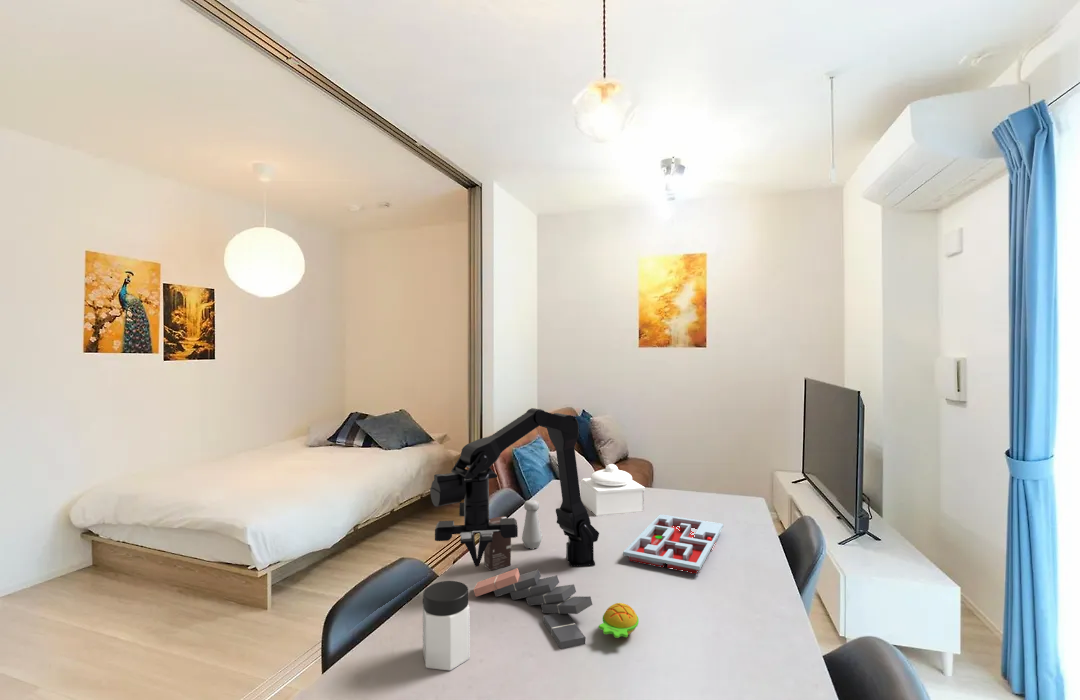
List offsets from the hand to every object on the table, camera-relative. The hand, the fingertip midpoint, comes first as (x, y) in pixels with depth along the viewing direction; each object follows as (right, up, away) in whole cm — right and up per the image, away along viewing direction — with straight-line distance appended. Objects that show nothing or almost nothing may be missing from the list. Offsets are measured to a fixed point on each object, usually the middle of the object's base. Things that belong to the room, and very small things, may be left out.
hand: (477, 566), depth 114 cm
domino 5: (+17, -5, -7) cm, 19 cm away
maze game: (+54, -7, +26) cm, 60 cm away
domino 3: (+9, -5, -2) cm, 11 cm away
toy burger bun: (+30, -6, -18) cm, 36 cm away
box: (+4, -6, +14) cm, 16 cm away
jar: (-3, -6, -24) cm, 25 cm away
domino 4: (+13, -5, -4) cm, 15 cm away
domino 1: (0, -5, -1) cm, 5 cm away
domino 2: (+5, -5, 0) cm, 7 cm away
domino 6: (+18, -5, -12) cm, 22 cm away
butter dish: (+41, -7, +64) cm, 76 cm away
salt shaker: (+12, -7, +27) cm, 31 cm away
